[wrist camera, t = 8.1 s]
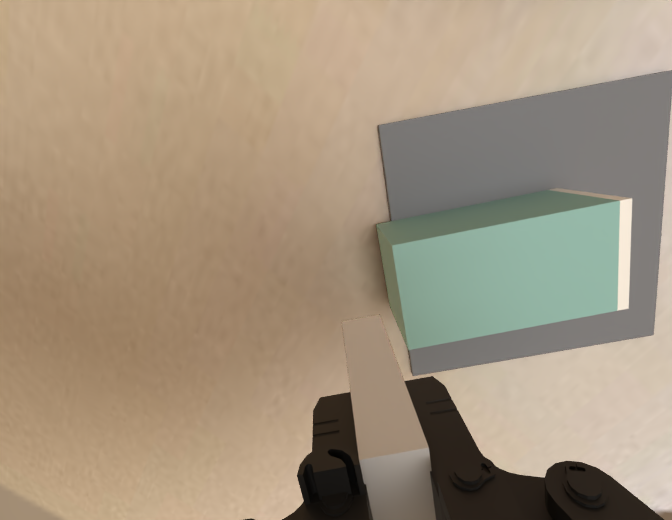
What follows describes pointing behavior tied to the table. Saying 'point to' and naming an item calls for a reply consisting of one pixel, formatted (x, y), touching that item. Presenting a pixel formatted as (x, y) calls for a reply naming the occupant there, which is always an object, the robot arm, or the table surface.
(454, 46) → the table surface
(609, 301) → the block
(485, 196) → the mat
